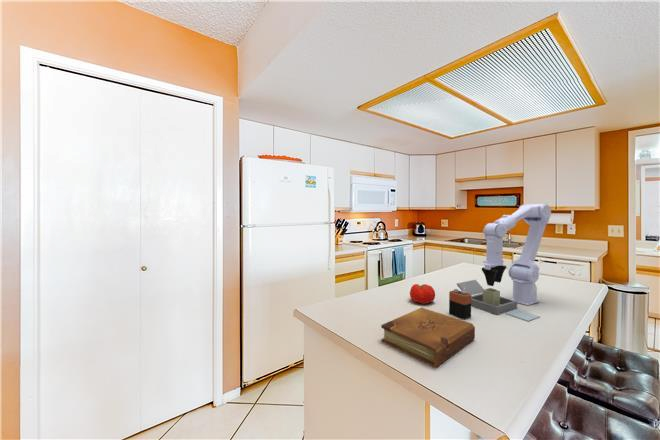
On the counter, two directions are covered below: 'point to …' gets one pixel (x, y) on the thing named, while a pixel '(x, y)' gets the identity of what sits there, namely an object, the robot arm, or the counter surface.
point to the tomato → (422, 293)
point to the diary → (428, 335)
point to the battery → (460, 304)
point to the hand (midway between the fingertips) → (494, 283)
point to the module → (491, 296)
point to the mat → (522, 315)
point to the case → (477, 298)
